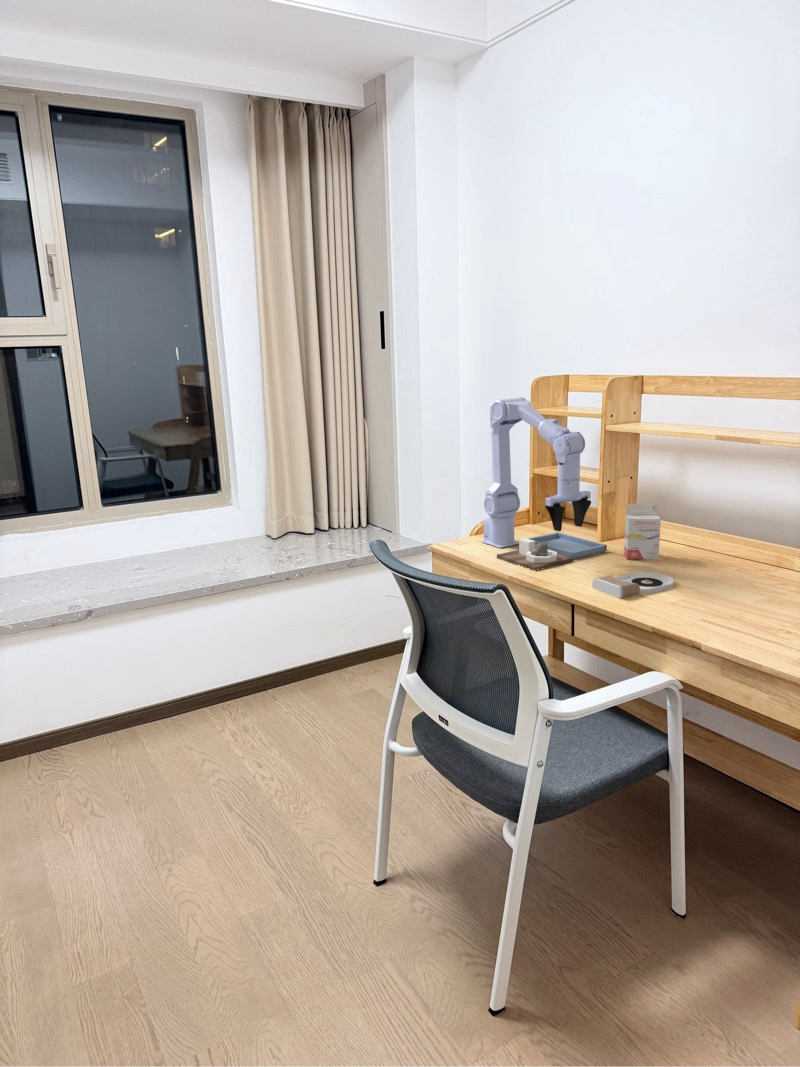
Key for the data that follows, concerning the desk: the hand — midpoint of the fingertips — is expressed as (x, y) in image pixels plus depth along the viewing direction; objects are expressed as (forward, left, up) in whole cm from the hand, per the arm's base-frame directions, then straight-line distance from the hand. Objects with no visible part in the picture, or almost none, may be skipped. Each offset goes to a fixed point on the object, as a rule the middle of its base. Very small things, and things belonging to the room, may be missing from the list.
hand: (568, 528), depth 202 cm
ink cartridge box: (+8, +20, -10) cm, 24 cm away
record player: (+24, 0, -11) cm, 26 cm away
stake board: (-9, -4, -10) cm, 14 cm away
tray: (-12, +11, -10) cm, 19 cm away
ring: (-8, -4, -9) cm, 13 cm away
